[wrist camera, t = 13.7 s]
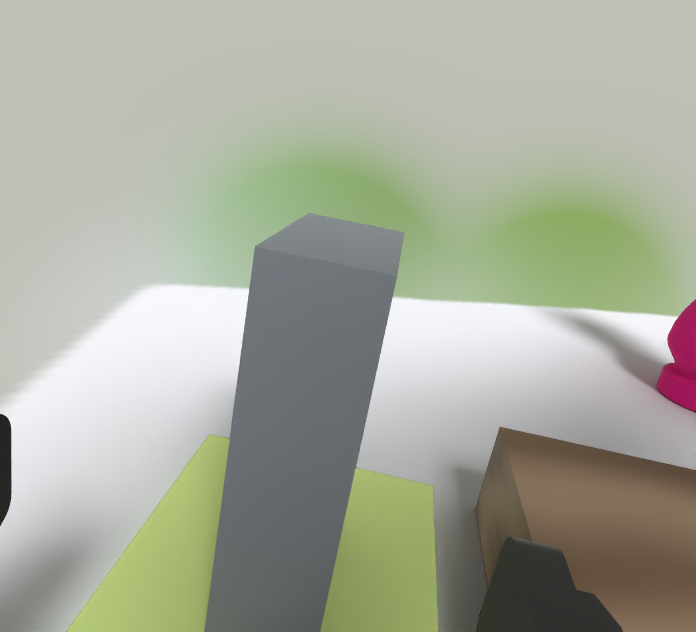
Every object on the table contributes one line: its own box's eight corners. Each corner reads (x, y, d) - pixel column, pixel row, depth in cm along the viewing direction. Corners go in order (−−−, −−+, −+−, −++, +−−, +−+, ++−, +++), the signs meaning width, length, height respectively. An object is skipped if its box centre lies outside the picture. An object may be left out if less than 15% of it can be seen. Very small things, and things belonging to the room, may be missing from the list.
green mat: (208, 445, 25) (209, 434, 25) (429, 497, 24) (433, 485, 24) (-36, 792, 12) (-37, 772, 11) (442, 925, 11) (449, 907, 11)
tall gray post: (262, 507, 21) (309, 213, 17) (341, 526, 20) (404, 232, 17) (202, 645, 15) (254, 246, 12) (311, 672, 15) (396, 275, 11)
